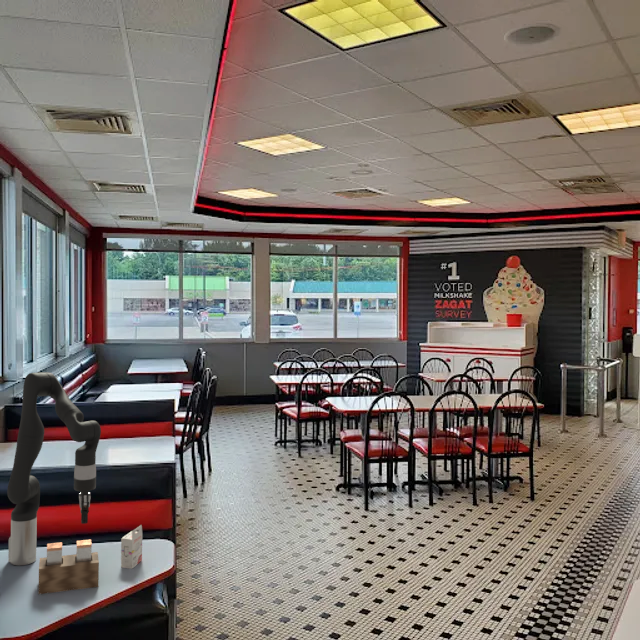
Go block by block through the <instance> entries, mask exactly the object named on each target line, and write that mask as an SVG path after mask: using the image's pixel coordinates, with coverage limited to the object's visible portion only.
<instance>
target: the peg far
mask: <svg viewBox="0 0 640 640" xmlns="http://www.w3.org/2000/svg"><path fill="white" fill-rule="evenodd" d="M92 545H93V544H92V539H83V540H76V563H77V562H87V561H91V553H92Z"/></svg>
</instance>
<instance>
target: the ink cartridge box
mask: <svg viewBox="0 0 640 640" xmlns="http://www.w3.org/2000/svg"><path fill="white" fill-rule="evenodd" d="M120 539H121V541H120V543H121V546H120V547H121V550H120V553H121V555H120V560H121V561H120V568H122V569H128V570H129V569H130V570H131V569H132V570H133V569H134V568H135V567H136V566H137V565H139V563H141V562H142V561H143V526H142V524H140V525H139V526H137V527H136V528H134V529H133V530H131V531H130V532H128V533H127V534H125V535H124V536H122V538H120Z"/></svg>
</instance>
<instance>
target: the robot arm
mask: <svg viewBox="0 0 640 640" xmlns="http://www.w3.org/2000/svg"><path fill="white" fill-rule="evenodd" d="M47 396H48V397H50V398H51V399H53V401H55V402H54V403H55V405H54V408H55V413H56V415H57V416H58V418H59V419H60V420H61V421H62V422H63V423H64V424H65V427H66V428H67V431H68V433H69V436H70V438H71V439H72V441H74V442H76V443H83V445H82V446H80V447H78V448H76V450H75V452H74V454H75V455H74V469H73V472H74V473H73V489H74V491H76V492H80V493H78V501H79V509H80V516H81V517H80V519H81V520H80V523H81V524H82V525H85V524H88V522H89V512H90V511H89V508H90V506H91V500H92V499H91V497H92V494H91V492H90V491H93V490H95V489H96V487H97V466H96V461H97V460H96V457H97V456H96V453H97V449H98V447H99V446H98V445H99V442H100V440H101V436H102V435H101V434H102V428H101V425H100V424H99V422H98V421H96V420H88V421H84V419H85V417H84V413H83V412H82V411H81V409H79V408H78V407H77V405H76V404H74V402H72V400H71V399H70V397H69V396H68V394H67V392H66V391H65V389H64V387H63V386H62V384H61V383H60V381H59V380H58V378H57V377H56V375H55V374H53V373H52V372H45V371H43V372H30V373H28V374H27V375H26V376H25V378H24V381H23V387H22V405H21V415H20V423H19V428H18V433H17V440H16V447H15V454H14V459H13V464H12V465H13V466H12V470H11V474H10V477H9V481H8V484H7V490H6V491H7V497H8V500H9V501H10V502H11V503H12V504H13V505H15V507H14V508H13V509H12V511H11V514H10V536H9V538H8V557H7V559H8V562H9V563H10V565H13V566H26V565H30V564H32V563H34V562H35V561H36V560H37V533H38V531H37V526H38V525H37V524H38V523H37V522H38V521H37V520H38V512H39V509H40V497H41V486H40V481H39V479H38V478H37V477H35V476H34V475H32V474H31V473H32V468H33V466H34V464H35V462H36V460H37V458H38V456H39V454H40V453H41V449H42V447H43V442H44V437H45V426H44V424H43V422H42V419H41V417H40V416H39V413H38V410H37V408H38V407H37V405H38V403H37V401H38V397H47ZM8 562H7V563H8Z"/></svg>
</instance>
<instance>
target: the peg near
mask: <svg viewBox="0 0 640 640" xmlns="http://www.w3.org/2000/svg"><path fill="white" fill-rule="evenodd" d="M62 556H63V542H52V543H47V544H46V557H47V566H50V565H59V564H62Z"/></svg>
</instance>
